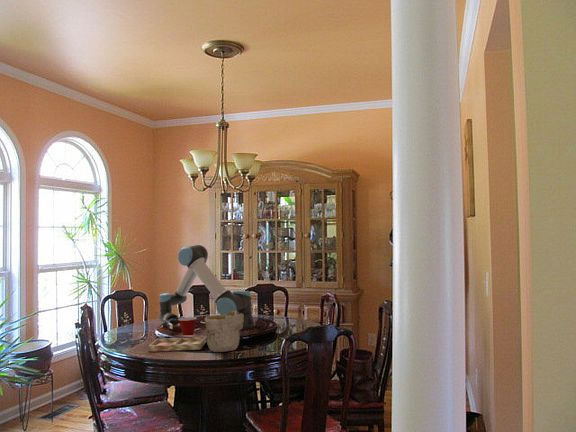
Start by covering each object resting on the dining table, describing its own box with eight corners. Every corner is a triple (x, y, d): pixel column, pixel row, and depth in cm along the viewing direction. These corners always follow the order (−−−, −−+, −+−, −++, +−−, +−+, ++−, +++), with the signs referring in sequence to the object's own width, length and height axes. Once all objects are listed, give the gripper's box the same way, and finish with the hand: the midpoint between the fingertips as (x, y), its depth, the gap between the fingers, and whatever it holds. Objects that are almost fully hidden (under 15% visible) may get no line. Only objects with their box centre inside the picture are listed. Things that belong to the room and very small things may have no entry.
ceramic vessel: (185, 333, 271) (211, 295, 277) (220, 355, 278) (244, 317, 285) (195, 342, 250) (222, 300, 257) (232, 365, 258) (258, 323, 264)
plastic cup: (199, 335, 300) (198, 315, 300) (194, 339, 289) (193, 319, 289) (182, 335, 301) (181, 316, 301) (176, 340, 291) (175, 320, 290)
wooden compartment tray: (206, 342, 283) (206, 336, 283) (200, 349, 268) (199, 344, 268) (157, 344, 285) (156, 338, 285) (148, 351, 270) (148, 346, 270)
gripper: (189, 321, 327) (202, 327, 309) (152, 328, 313) (163, 334, 295) (189, 310, 327) (201, 315, 309) (151, 316, 313) (162, 322, 295)
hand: (182, 324), depth 302 cm, fingers open, 13 cm apart
